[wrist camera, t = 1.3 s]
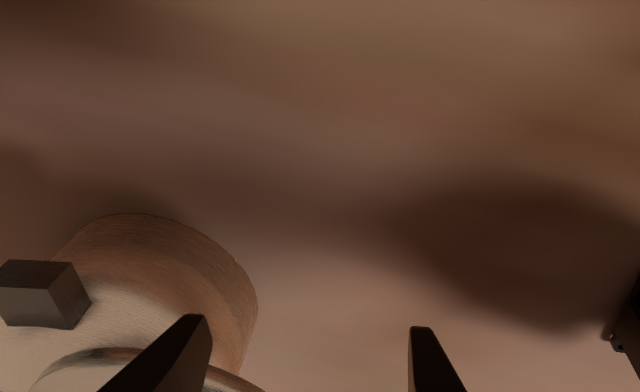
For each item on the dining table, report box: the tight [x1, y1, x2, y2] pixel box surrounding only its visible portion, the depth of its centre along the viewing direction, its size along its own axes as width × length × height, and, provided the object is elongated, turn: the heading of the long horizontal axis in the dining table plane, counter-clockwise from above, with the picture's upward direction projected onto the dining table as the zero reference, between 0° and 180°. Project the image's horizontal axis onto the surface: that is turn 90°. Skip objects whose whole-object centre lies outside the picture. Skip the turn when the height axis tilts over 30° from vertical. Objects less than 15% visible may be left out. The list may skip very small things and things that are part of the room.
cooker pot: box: [0, 214, 258, 392], centre depth 25 cm, size 13×18×9 cm
